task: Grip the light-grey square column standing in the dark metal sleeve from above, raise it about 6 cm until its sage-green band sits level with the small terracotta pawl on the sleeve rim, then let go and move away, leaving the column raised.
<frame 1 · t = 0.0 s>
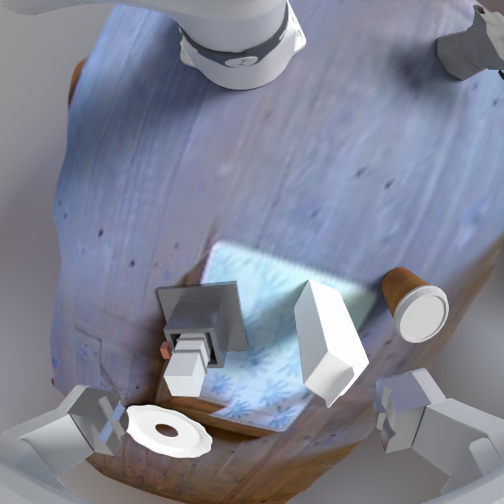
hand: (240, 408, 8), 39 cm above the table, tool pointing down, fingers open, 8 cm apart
stand: (204, 318, 53), on the table
plate: (167, 429, 67), on the table
disposable coffee cup: (396, 283, 49), on the table
milk: (316, 298, 50), on the table
column: (193, 350, 44), point 9 cm above the table, slide at 0.0 cm
coffeepot: (459, 61, 34), on the table
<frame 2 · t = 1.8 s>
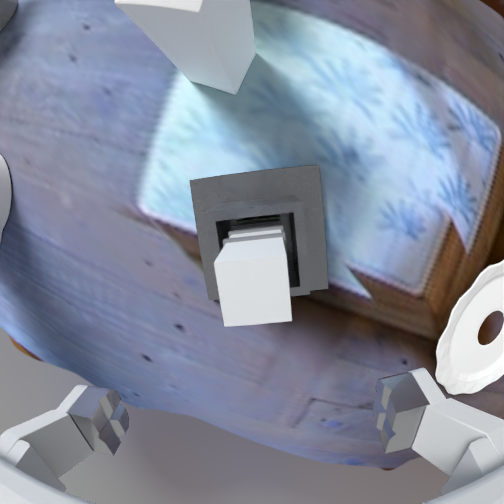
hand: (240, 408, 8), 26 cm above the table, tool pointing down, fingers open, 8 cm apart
stand: (261, 233, 34), on the table
plate: (489, 327, 36), on the table
milk: (222, 66, 29), on the table
column: (258, 255, 25), point 9 cm above the table, slide at 0.0 cm
coffeepot: (6, 12, 25), on the table
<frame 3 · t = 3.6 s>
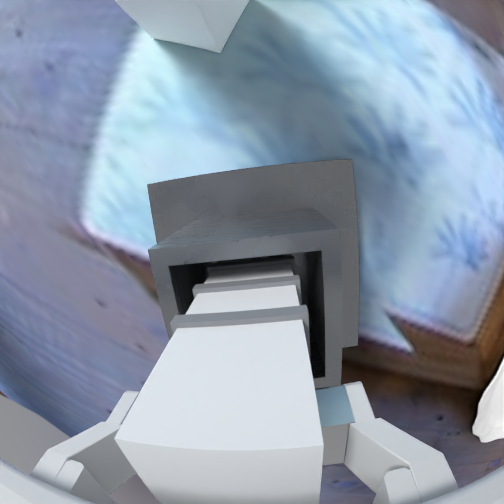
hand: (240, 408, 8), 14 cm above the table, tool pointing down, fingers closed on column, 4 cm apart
stand: (260, 267, 22), on the table
milk: (201, 16, 17), on the table
column: (251, 331, 13), point 9 cm above the table, slide at 0.0 cm, touching gripper
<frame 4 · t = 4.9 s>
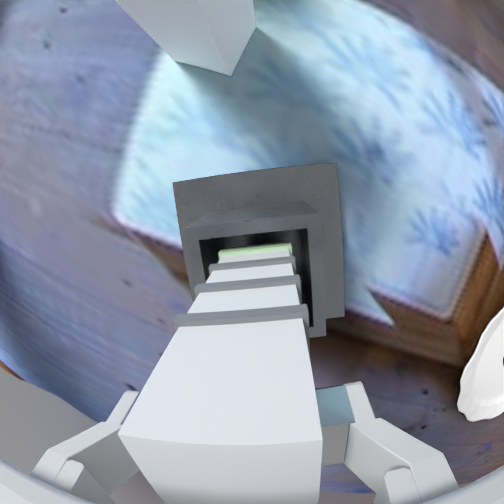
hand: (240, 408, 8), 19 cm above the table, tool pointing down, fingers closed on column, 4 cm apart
stand: (263, 249, 27), on the table
milk: (215, 43, 22), on the table
column: (252, 330, 13), point 15 cm above the table, slide at 5.2 cm, touching gripper
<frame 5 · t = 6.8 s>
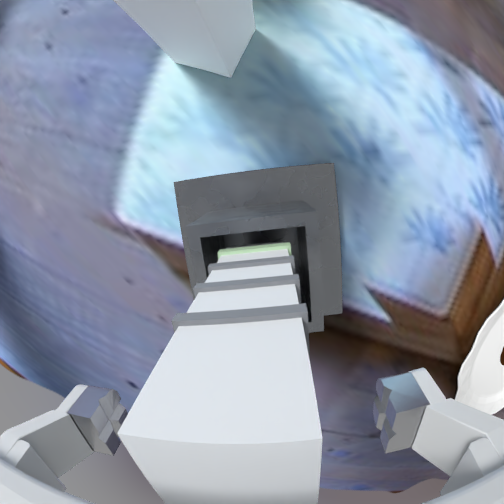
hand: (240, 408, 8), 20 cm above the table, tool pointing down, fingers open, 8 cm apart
stand: (262, 247, 27), on the table
milk: (215, 45, 23), on the table
column: (251, 329, 13), point 15 cm above the table, slide at 5.8 cm
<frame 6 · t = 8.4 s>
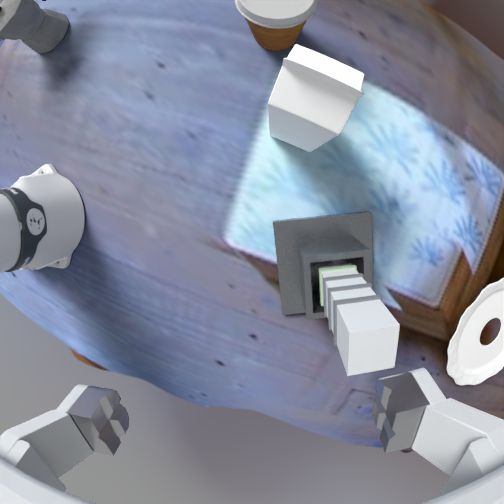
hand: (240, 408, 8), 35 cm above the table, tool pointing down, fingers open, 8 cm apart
stand: (325, 263, 43), on the table
plate: (489, 331, 44), on the table
disposable coffee cup: (275, 34, 35), on the table
milk: (297, 125, 38), on the table
column: (350, 307, 28), point 15 cm above the table, slide at 5.8 cm
coffeepot: (55, 30, 35), on the table
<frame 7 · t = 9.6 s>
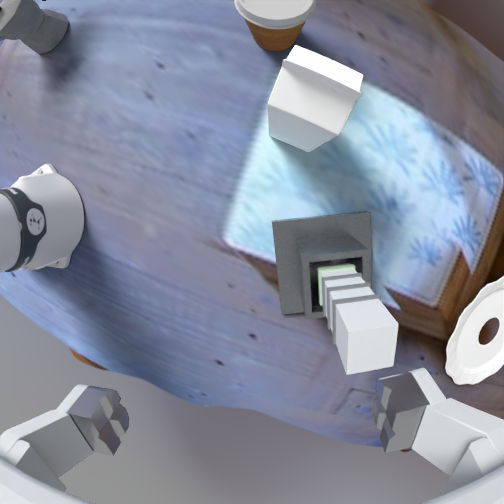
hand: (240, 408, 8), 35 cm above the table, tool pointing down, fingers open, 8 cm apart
stand: (324, 263, 43), on the table
plate: (488, 330, 45), on the table
disposable coffee cup: (275, 34, 35), on the table
milk: (296, 125, 38), on the table
column: (349, 307, 28), point 15 cm above the table, slide at 5.8 cm
coffeepot: (55, 30, 35), on the table
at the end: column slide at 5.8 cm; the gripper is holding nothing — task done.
